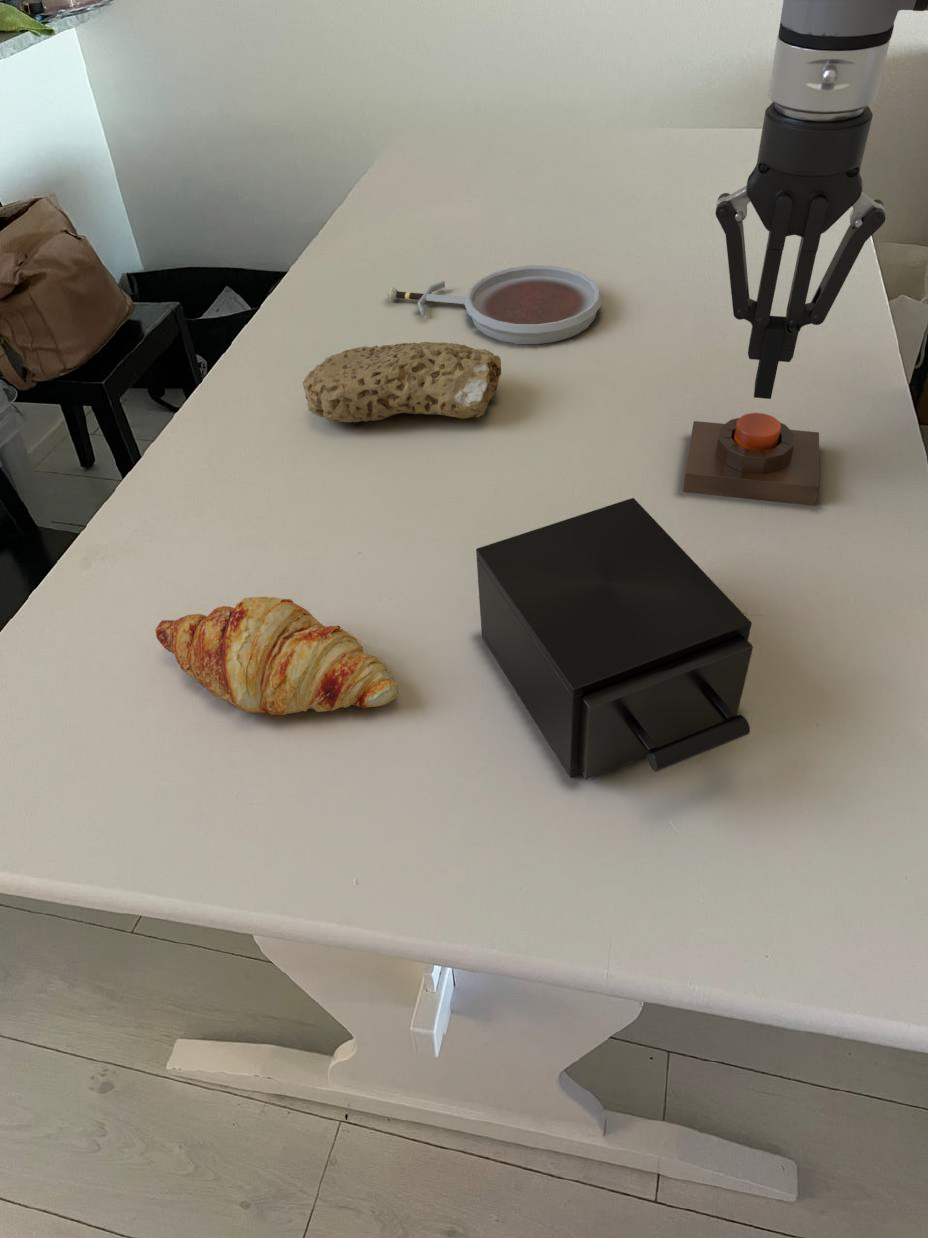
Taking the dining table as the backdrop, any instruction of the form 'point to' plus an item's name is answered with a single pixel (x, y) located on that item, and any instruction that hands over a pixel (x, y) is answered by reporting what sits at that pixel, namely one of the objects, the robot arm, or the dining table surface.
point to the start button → (757, 431)
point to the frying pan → (524, 303)
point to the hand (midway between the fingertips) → (762, 390)
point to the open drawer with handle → (666, 710)
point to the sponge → (403, 382)
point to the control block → (753, 465)
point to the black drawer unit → (593, 611)
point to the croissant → (276, 659)
